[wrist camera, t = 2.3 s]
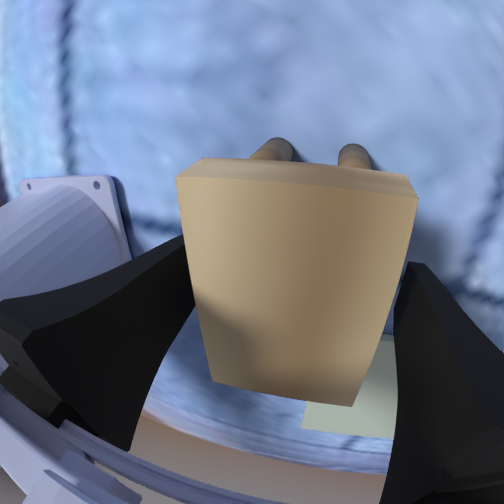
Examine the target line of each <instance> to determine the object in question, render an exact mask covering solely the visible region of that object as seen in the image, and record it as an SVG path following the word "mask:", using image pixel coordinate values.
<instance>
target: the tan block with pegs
mask: <svg viewBox="0 0 504 504" xmlns="http://www.w3.org/2000/svg"><path fill="white" fill-rule="evenodd" d="M292 157H293V148H292V146H291V144H290V143H289V142H288V141H287V140H285V139H283V138H279V137H276V138H272V139H270V140H269V141H268V142H266V143H265V144H264V145H263V146H262V147H261V148H260V149H258V150H257V151H256V152H255V153H254V154H253V155H252V156H251V157H250V158H248V159H232V158H202V159H201V160H199V161H198V162H196V163H195V164H193V165H192V166H190V167H189V168H187V169H186V170H184V171H183V172H181V173H180V174H178V175H177V176H175V180H176V187H177V195H178V202H179V209H180V216H181V222H182V229H183V235H184V242H185V248H186V254H187V260H188V266H189V271H190V277H191V282H192V288H193V293H194V299H195V304H196V309H197V314H198V319H199V324H200V329H201V334H202V338H203V343H204V348H205V352H206V357H207V361H208V366H209V370H210V375H211V379H212V381H213V382H217V383H221V384H225V385H229V386H233V387H237V388H242V389H246V390H251V391H255V392H260V393H265V394H270V395H275V396H280V397H286V398H291V399H297V400H303V401H310V402H316V403H323V404H330V405H338V406H346V407H352V406H353V404H354V401H355V399H356V397H357V395H358V392H359V390H360V388H361V386H362V383H363V381H364V378H365V376H366V374H367V371H368V369H369V366H370V364H371V361H372V359H373V356H374V353H375V351H376V348H377V346H378V343H379V340H380V337H381V335H382V332H383V329H384V326H385V323H386V320H387V317H388V314H389V311H390V308H391V305H392V302H393V299H394V296H395V292H396V289H397V286H398V282H399V279H400V275H401V272H402V268H403V264H404V261H405V257H406V253H407V249H408V245H409V241H410V237H411V233H412V228H413V224H414V219H415V215H416V210H417V205H418V200H419V199H418V197H417V195H416V193H415V191H414V189H413V187H412V185H411V183H410V181H409V179H408V178H407V176H406V175H403V174H397V173H390V172H383V171H376V170H372V167H371V163H370V159H369V156H368V153H367V151H366V150H365V148H363V147H362V146H361V145H358V144H348V145H346V146H344V147H343V148H342V149H341V151H340V153H339V158H338V166H334V165H324V164H314V163H302V162H290V161H291V159H292Z"/></svg>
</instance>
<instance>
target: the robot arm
mask: <svg viewBox="0 0 504 504" xmlns="http://www.w3.org/2000/svg"><path fill="white" fill-rule="evenodd" d="M98 183H99V184H100V186H99V184H98ZM19 188H20V191H21V195H20V196H18V197H16V198H15V199H13V200H12V201H10V202H8V203H7V204H5V205H4V206H2V207H1V208H0V468H1V467H3V469H4V470H5V471H6V472H7V473H8V474H9V476H10V477H11V478H12V479H13V480H14V481H15V483H16V484H17V485H18V486H19V487H20V488H21V489H22V490H23V491H24V492H25V494H27V497H26V499H25V500H24V502H23V504H140V502H141V500H142V496H141V495H139V494H138V493H136V492H135V491H133V490H131V489H130V488H128V487H126V486H125V485H124V484H122V483H121V482H119V481H118V480H117V479H116V478H115V477H113V476H112V475H110V474H108V473H107V472H105V471H103V470H102V469H100V468H99V467H97V466H95V463H94V461H96V462H97V463H99V464H101V465H102V466H104V467H106V468H108V469H110V470H112V471H114V472H116V473H117V474H119V475H121V476H123V477H125V478H127V479H129V480H131V481H133V482H135V483H137V484H140V485H142V486H144V487H146V488H148V489H151V490H153V491H155V492H158V493H160V494H162V495H165V496H167V497H170V498H173V499H175V500H178V501H180V502H183V503H186V504H288V503H282V502H276V501H272V500H267V499H262V498H257V497H253V496H249V495H245V494H241V493H237V492H233V491H230V490H226V489H222V488H219V487H216V486H212V485H209V484H206V483H203V482H200V481H197V480H194V479H191V478H188V477H185V476H182V475H180V474H177V473H174V472H172V471H169V470H166V469H164V468H162V467H159V466H157V465H154V464H152V463H150V462H147V461H145V460H143V459H140V458H138V457H136V456H134V455H132V454H130V453H127V452H128V451H129V450H130V447H131V443H132V440H133V436H134V433H135V429H136V426H137V423H138V419H139V417H140V414H141V411H142V408H143V405H144V403H145V400H146V397H147V395H148V392H149V390H150V387H151V385H152V382H153V380H154V378H155V375H156V373H157V371H158V369H159V367H160V364H161V362H162V360H163V358H164V356H165V354H166V353H167V351H168V349H169V347H170V346H171V344H172V342H173V341H174V339H175V338H176V336H177V334H178V333H179V331H180V330H181V328H182V326H183V325H184V323H185V322H186V320H187V318H188V317H189V315H190V313H191V312H192V310H193V308H194V307H195V305H196V304H195V299H194V293H193V288H192V282H191V277H190V271H189V266H188V260H187V254H186V248H185V242H184V235H180V236H178V237H175V238H173V239H171V240H169V241H167V242H165V243H163V244H161V245H159V246H157V247H155V248H153V249H152V250H150V251H148V252H146V253H144V254H142V255H140V256H138V257H136V258H134V259H132V257H131V253H130V250H129V246H128V242H127V238H126V234H125V230H124V226H123V222H122V217H121V213H120V209H119V204H118V199H117V195H116V190H115V185H114V181H113V179H112V178H111V177H110V176H109V175H106V174H100V175H72V176H52V177H37V178H24V179H22V180H20V182H19ZM393 335H394V347H395V358H396V371H397V388H398V402H397V414H396V424H395V432H394V440H393V446H392V452H391V458H390V463H389V468H388V472H387V477H386V481H385V485H384V489H383V492H382V496H381V499H380V503H379V504H504V353H503V352H502V351H501V350H499V349H498V348H497V347H496V346H495V345H494V344H493V343H492V342H491V341H490V340H489V339H488V338H487V336H486V335H485V334H484V333H483V332H482V331H481V330H480V329H479V328H478V327H477V326H476V325H475V324H474V323H473V321H472V320H471V319H470V318H469V317H468V316H467V314H466V313H465V312H464V311H463V310H462V308H461V307H460V306H459V305H458V304H457V302H456V301H455V300H454V299H453V297H452V296H451V295H450V294H449V292H448V291H447V290H446V289H445V287H444V286H443V285H442V284H441V282H440V281H439V280H438V279H437V277H436V276H435V275H434V274H433V272H432V271H431V270H430V269H429V268H428V267H427V266H426V265H425V264H423V263H416V262H408V263H407V267H406V271H405V274H404V277H403V281H402V284H401V287H400V291H399V294H398V297H397V300H396V303H395V306H394V326H393ZM93 460H94V461H93Z"/></svg>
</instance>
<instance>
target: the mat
mask: <svg viewBox="0 0 504 504" xmlns="http://www.w3.org/2000/svg"><path fill="white" fill-rule="evenodd" d="M397 402H398V388H397V371H396V358H395V347H394V335H388V334H382V335H381V337H380V340H379V343H378V346H377V348H376V351H375V353H374V356H373V359H372V361H371V364H370V366H369V369H368V371H367V374H366V376H365V378H364V381H363V383H362V386H361V388H360V390H359V392H358V395H357V397H356V399H355V401H354V404H353V406H352V407H346V406H338V405H330V404H323V403H316V402H310V401H307V402H306V407H305V411H304V416H303V420H302V424H301V428H303V429H309V430H316V431H323V432H331V433H339V434H348V435H358V436H370V437H386V438H394V432H395V424H396V414H397Z"/></svg>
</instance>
